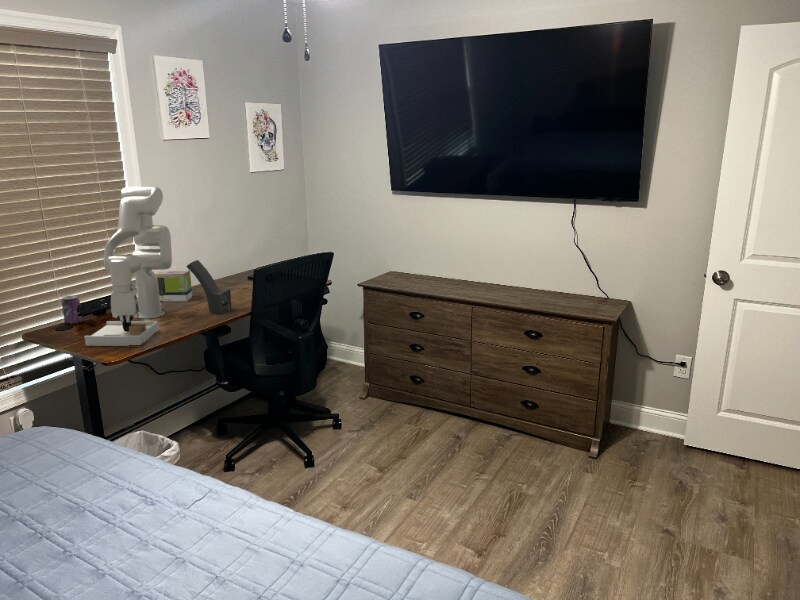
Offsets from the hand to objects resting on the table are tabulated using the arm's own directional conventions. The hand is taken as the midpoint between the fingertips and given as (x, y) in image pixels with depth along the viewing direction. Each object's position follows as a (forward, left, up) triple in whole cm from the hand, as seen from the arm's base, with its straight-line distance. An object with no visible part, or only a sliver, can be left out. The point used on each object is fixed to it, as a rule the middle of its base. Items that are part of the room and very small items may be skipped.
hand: (127, 330), depth 254 cm
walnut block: (+1, +5, -1) cm, 5 cm away
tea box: (-60, -1, -4) cm, 60 cm away
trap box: (0, -2, -3) cm, 4 cm away
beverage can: (-20, -33, -4) cm, 39 cm away
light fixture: (-40, +23, -3) cm, 46 cm away
